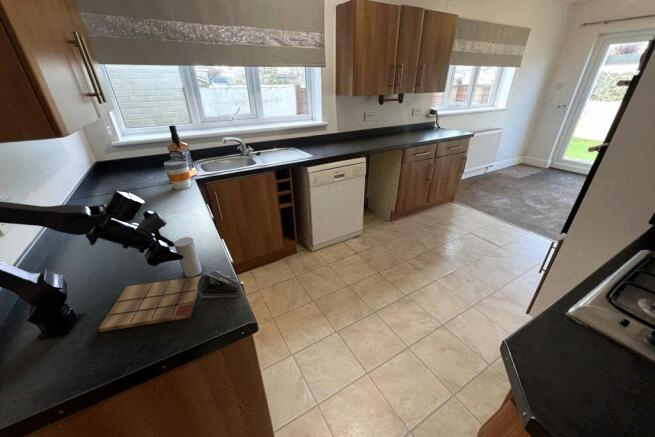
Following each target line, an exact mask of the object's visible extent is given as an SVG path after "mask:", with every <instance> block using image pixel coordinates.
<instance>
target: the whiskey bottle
mask: <svg viewBox="0 0 655 437" xmlns="http://www.w3.org/2000/svg"><path fill="white" fill-rule="evenodd" d="M168 129H169V132H170V138H171V141H172V143H170V144H169V145H168V146H166V148H167V151H168V153H169V156H170V161H171V160H177V159H185V160H187V162H188V165H189V166H188V169H189V171H190V178H193V176H196V175H197V174H198V173H197V169H196V168H195V165H194V162H193V158H192V155H191V152H190V146H189V144H188V143H185V142H183V141H181V137H180V134H179V133H178V130H177V126H176V125H175V124H174V125H168Z"/></svg>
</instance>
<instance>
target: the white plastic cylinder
mask: <svg viewBox="0 0 655 437" xmlns="http://www.w3.org/2000/svg"><path fill="white" fill-rule="evenodd" d="M174 248H175V249H174V250H175V252H177V253H179V254H181V255H183V256H184V257H183V259H181V260H179V263H180V266H181V269H182V272H183V274H184V277H185V278H192V277H197V276H198V275H201V273H202V271H203V267H202V265H201V260H200V257H199V254H198V251H197V248H196V244H195V242H194V239H193V238H192V237H190V236H185V237H181V238H178V239H176V240H175V241H174Z"/></svg>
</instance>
